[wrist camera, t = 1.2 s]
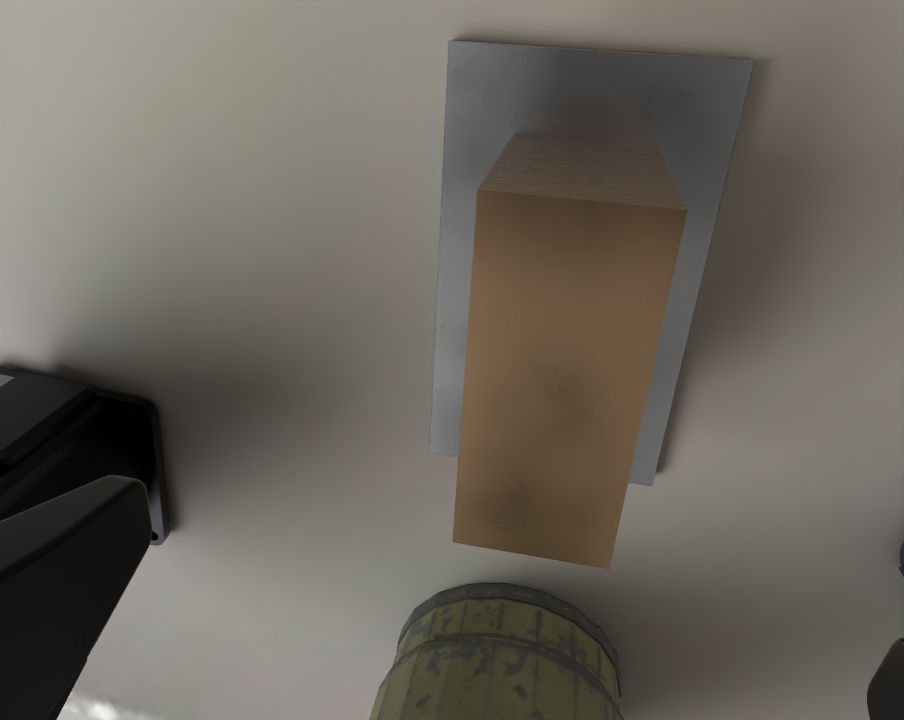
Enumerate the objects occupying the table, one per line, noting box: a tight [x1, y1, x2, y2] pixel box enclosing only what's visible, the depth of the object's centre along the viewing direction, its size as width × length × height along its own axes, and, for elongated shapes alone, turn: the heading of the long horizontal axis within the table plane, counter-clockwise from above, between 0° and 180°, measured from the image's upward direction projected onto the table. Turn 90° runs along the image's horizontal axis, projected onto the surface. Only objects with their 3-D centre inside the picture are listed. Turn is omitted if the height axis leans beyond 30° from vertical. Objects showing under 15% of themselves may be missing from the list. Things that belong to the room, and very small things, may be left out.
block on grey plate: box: [430, 40, 754, 569], centre depth 16 cm, size 12×7×7 cm, turn 177°
